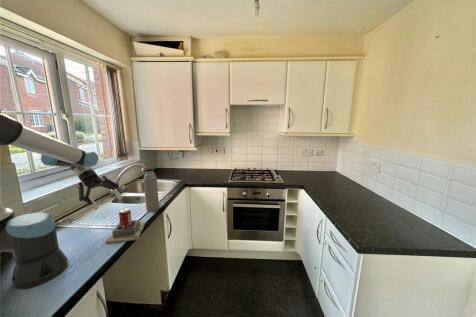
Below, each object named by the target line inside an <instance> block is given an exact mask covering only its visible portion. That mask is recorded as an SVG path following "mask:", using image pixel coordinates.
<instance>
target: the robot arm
mask: <svg viewBox="0 0 476 317" xmlns="http://www.w3.org/2000/svg"><path fill="white" fill-rule="evenodd" d="M7 146H12V147H15V148H18V149H22V150H26V151H29V152H32V153H36V154H39V155H41V156H40V161H41V164H44V165H45V166H50V167H64V168H65V167H66V168H70V169H71V170H72V172H74V175H76V177H78V179H79V181H80V182H78V184H76V186H77V188H78V200H79V202H82V201H83V202H84V203H85V202H86V204H87V205H88V206H91V207H92V209H93V210H94V211H97V210H98V209H99V205H98V204H97V203H96V201H95V200H94V199H93V198H92V197H91V196H90V193H91V190H92V189H95V188H99V187H101V188H102V187H103V188H104V189H108V190H112V193H113V194H114V195H115V196H116V197H117V199H118V200H119V201H120V200H122V198H123V195H122V194H121V192H120V189H118V188H119V187H120V185H119V184H118V183H116V182H114V181H112V180H111V179H109V178H107V177H106V176H105V175H103V176H102V177H99V175H98V174H97V173H96V171H95V170H94V169H93V167H95V166H96V165H97V164H98V162H99V155H98V154H97V152H95V151H90V150H87V151H86V150H82V149H81V148H77V147H75V146H74V145H73V146H72V145H71V144H68V143H65V142H63V141H60V140H59V139H56V138H54V137H51V136H48V135H46V134H44V133H42V132H38V131H36V130H34V129H31V128H28V127H27V126H24V124H23V123H22V122H21V121H20V120H19V119H15V118H13V117H11V116H8V115H6V114H3V113H0V147H7ZM84 187H86V191H84V190H85V189H84ZM84 192H85V193H84ZM56 228H57V227H56V223H55V221H54V218H53V215H51V214H49V213H47V212H33V213H25V214H20V215H18V216H16V214H15V213H14V210H13V209H12V208H7V207H5V206H4V205H3V202H2V200H1V199H0V253H12V255H13V259H14V267H13V271H12V276H11V283H12V287H13V288H15V289H17V290H26V289H30V288H34V287H37V286H40V285H42V284H43V285H44V284H45V283H47V282H49V281H50V280H52V279H54V278H56V277H57V276H60V274H61V273H62V272H64V271H65V269H66V268H67V267H68V265H69V261H68V257H67V255H66V254H65V253H64V252H63V251H62V249H61V248H60V245H59V241H58V234H57V229H56Z"/></svg>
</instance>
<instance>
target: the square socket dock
mask: <svg viewBox="0 0 476 317" xmlns="http://www.w3.org/2000/svg"><path fill="white" fill-rule="evenodd" d="M145 225H146V221H141V220H140V219H134V220H132V228H129V229H121V225H120V221H119V223H117V225H116V226H115V228H113V230H112V231H111V232H112V233H111V234H110V235H109V236H108V238H107V239H106V240H105V244H113V243H112V242H115V243H121V242H120V241H124V242H129V241H132V242H133V241H138V239H139V237H140V235H141V234H142V231H143V229H144V228H145Z"/></svg>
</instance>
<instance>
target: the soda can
mask: <svg viewBox="0 0 476 317" xmlns="http://www.w3.org/2000/svg"><path fill="white" fill-rule="evenodd" d="M131 211H132V210H130V207H129V208H128V207H124V208H121V209H120V210H119V212H118V216H119V222H120V225H121V229H129V228H132V213H131Z"/></svg>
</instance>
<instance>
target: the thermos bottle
mask: <svg viewBox="0 0 476 317" xmlns="http://www.w3.org/2000/svg"><path fill="white" fill-rule="evenodd" d="M143 188H144V196H145V198H144V199H145V207H146V208H145V209H146V211H147V212H149V211H152V212H156V211H158V210H159V209H160V202H159V190H158V189H159V188H158V177H157V175H156V173H155V172H154V168H146V169H145V174H144V176H143Z"/></svg>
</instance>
